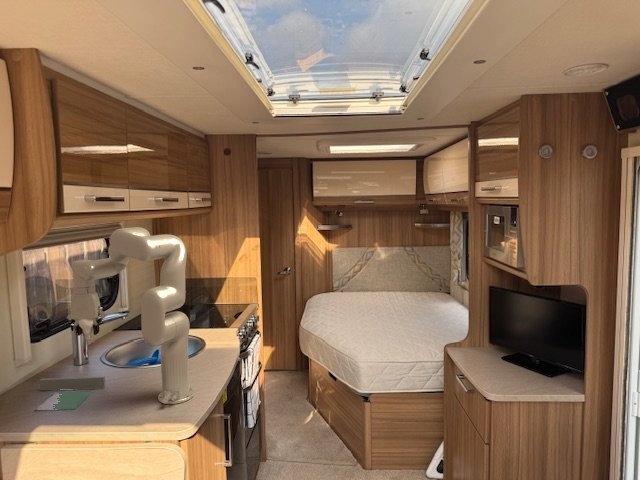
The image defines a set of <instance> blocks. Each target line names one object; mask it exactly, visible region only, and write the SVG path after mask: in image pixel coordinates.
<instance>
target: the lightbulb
mask: <svg viewBox="0 0 640 480" xmlns="http://www.w3.org/2000/svg"><path fill="white" fill-rule="evenodd" d="M78 324H79V326H80V327H81V328H82V330H83V334H84V340H86V341H90V340H92V339H93V325H94V323H93V320H92V319H81V320H78Z"/></svg>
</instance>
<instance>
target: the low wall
mask: <svg viewBox="0 0 640 480" xmlns="http://www.w3.org/2000/svg"><path fill="white" fill-rule="evenodd" d="M38 383H39V391H40V390H60V389H74V390H73V391H76V390H75V389H82V390H81V391H84V390H83V389H86V390H85V391H88V390H105V389H106V387H107V386H106V384H107V383H106V376H80V377H79V376H75V377H55V378H54V377H53V378H52V377H51V378H49V377H48V378H40V379H39V382H38Z"/></svg>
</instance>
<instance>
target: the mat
mask: <svg viewBox="0 0 640 480" xmlns="http://www.w3.org/2000/svg"><path fill="white" fill-rule="evenodd" d="M60 392H61V393H59V394H62V395H59V397H60V398H57V399H59V400H58V401H60V402H58V404H53V405H55V406H53V407H55V408H53V409H54V410H55V409H58V410H57V411H73V410H76V409H77V408H78V407H79V406H80V405H82V404H83V402H85V401H86V399H88V398H89V397H90V396H91V395H92V394H93V393H94V390H85V391H84V390H77V391H60ZM59 409H60V410H59ZM33 410H38V409H35V408H34V409H33Z"/></svg>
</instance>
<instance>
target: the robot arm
mask: <svg viewBox="0 0 640 480" xmlns="http://www.w3.org/2000/svg"><path fill="white" fill-rule="evenodd" d="M107 251H108V255H109V257H108V258H101V259H95V260H91V259H77V260H75V261H72V264H71V269H72V270H71V272H72V283H73V287H71V288H70V292H72V293H73V294H72V296H71V299H70V313H68V315H67V316H66V319H67V320H68V321H70V322H71V323H72V324H73V325H74V327H75V332H76V335H77V337H79V336H81V335H83V334H84V332H83V330H82V328H81V327H80V326H79V324H78V320H81V319H92V320H93V323H94V325H93V331H92V334H93V335H94V336H96V335H98V334H99V333H100V323H101V322H102V321H103V320H104V319H105V318H107V314H106V312H105V311H103V310H102V308H101V301H100V297H99V294H98V292H96V281H95V280H99V279H104V278H105V279H106V278H110V277H114V276H116V275H118V274H119V273H121V272H122V271H123V270H125V269H126V268H127V267H128V266H129V265H128V264H129V262H130V259H133V260H136V261H141V262H150V261H156V260H160V259H164V262H163V264H162V266H161V269H160V274H159V276H160V279H159V280H160V281H159V286H155V287H152V288H149V289H148V290H146V291H145V293H143V296H142V297H141V305H140V311H141V319H140V321H141V323H140V324H141V335H142V336H141V337H142V339H143V341H144V342H145V344H147V346H150V347H158V346H160V369H161V386H162V387H161V389H162V391H161V392H160V393H159V394H158V396H157V398H158V399H157V400H158V402H160V403H162V404H165V405H176V404H182V403H184V402H187V401H189V400H190V399H192V398H193V397H194V395H195V389H194V388H192V387H190V385H191V384H190V373H189V372H190V370H189V369H190V368H189V335H190V327H191V326H190V319H189V317H188V316H187V314H186V313H184V312H182V311H174V310H177V309H179V308H181V307H182V306H183V305H184V304H185V303H186V268H187V267H186V266H187V255H188V254H187V247H186V245H185V243H184V241H183V240H182V239H181V238H180V237H179V236H176V235H173V234H155V235H151V234H150V232H149V231H148V230H147V229H146V228H143V227H140V226H135V227H134V226H133V227H123V228H117V229H115V230H114V231H113V232H112V233H111V234H110V236H109V246H108V250H107Z"/></svg>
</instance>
